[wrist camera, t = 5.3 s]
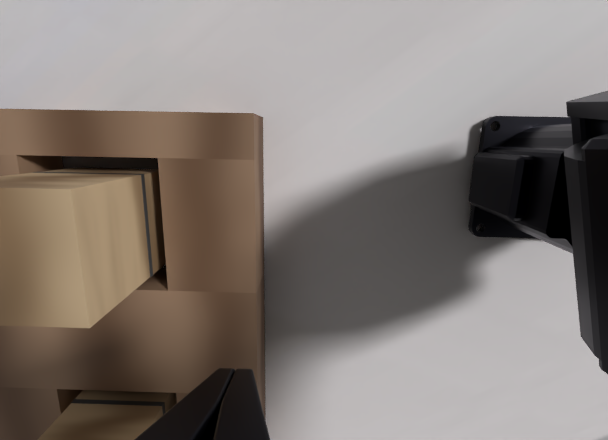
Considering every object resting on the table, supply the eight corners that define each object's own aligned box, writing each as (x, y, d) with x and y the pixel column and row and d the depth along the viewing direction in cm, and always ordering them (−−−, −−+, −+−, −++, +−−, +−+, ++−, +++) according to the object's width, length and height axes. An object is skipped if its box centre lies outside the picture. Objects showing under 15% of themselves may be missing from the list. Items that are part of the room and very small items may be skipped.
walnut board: (262, 117, 18) (227, 101, 11) (265, 472, 24) (244, 631, 16) (-27, 112, 19) (-267, 92, 11) (42, 464, 24) (-86, 617, 16)
